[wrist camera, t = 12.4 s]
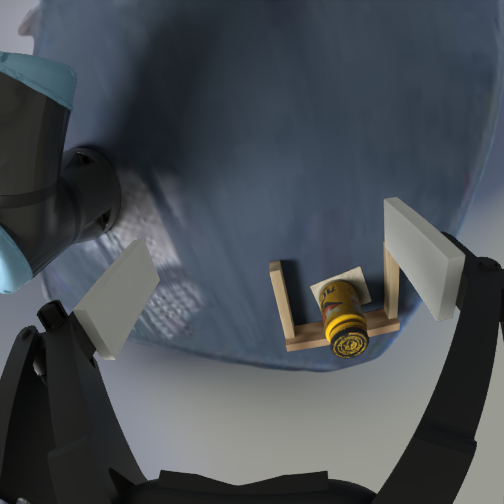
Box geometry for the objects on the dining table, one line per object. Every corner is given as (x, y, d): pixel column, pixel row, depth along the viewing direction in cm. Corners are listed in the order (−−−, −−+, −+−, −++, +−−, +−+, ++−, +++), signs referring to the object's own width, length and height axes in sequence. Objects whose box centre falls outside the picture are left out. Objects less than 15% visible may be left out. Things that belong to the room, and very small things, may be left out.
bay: (287, 333, 50) (287, 351, 46) (269, 261, 44) (269, 277, 40) (391, 313, 46) (399, 329, 42) (392, 238, 40) (402, 252, 36)
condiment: (309, 286, 45) (318, 338, 34) (359, 265, 43) (382, 313, 32) (325, 318, 48) (334, 371, 37) (371, 300, 46) (391, 349, 35)
